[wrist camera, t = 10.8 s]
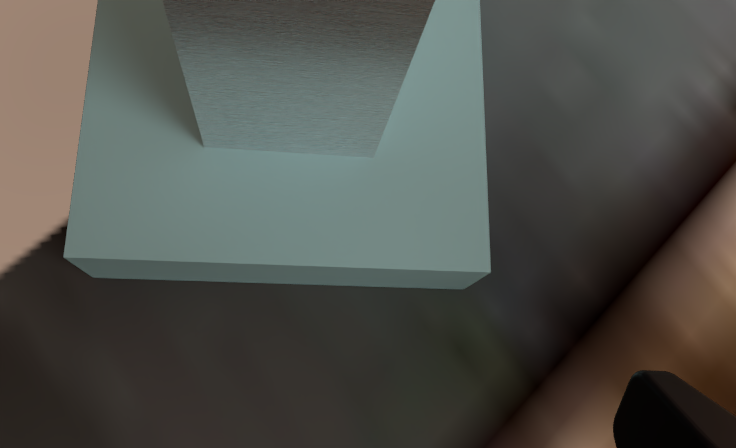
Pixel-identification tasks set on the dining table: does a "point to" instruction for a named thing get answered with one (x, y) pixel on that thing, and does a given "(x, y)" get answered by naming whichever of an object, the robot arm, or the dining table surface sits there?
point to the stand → (279, 174)
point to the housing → (295, 70)
